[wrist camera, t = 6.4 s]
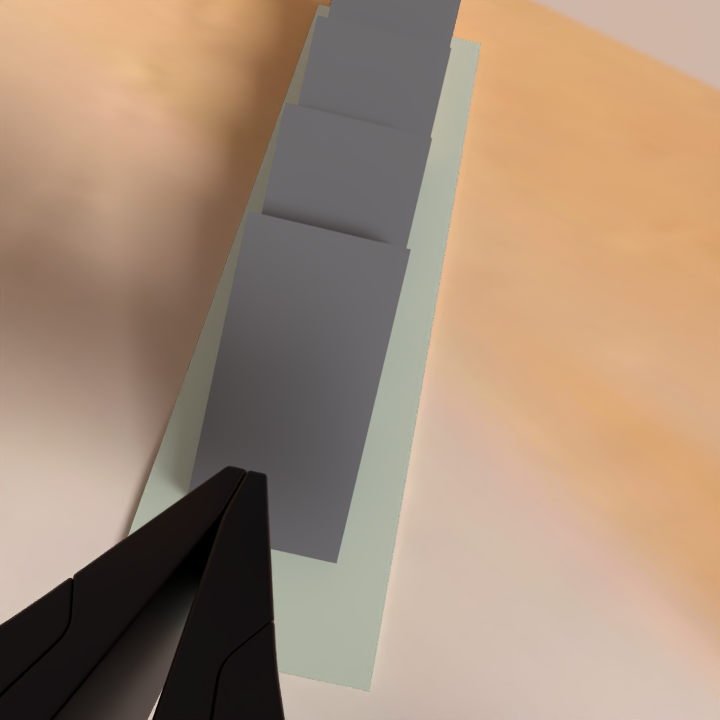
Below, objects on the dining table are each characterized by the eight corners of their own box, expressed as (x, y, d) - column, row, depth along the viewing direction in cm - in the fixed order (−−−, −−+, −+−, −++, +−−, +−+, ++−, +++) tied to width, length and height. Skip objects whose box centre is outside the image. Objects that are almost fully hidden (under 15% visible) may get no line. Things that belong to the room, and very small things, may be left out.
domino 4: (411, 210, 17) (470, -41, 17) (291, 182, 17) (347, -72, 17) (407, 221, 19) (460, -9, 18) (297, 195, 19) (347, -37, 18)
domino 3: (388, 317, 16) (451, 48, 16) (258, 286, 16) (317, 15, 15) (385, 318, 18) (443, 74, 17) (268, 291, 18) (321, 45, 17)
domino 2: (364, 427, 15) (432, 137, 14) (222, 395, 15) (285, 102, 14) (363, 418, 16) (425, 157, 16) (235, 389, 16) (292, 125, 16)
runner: (368, 687, 14) (369, 691, 14) (98, 628, 14) (93, 631, 14) (479, 49, 23) (480, 43, 23) (318, 9, 23) (318, 3, 23)
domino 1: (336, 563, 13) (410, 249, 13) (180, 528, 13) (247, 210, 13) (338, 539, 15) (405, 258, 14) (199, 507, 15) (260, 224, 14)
